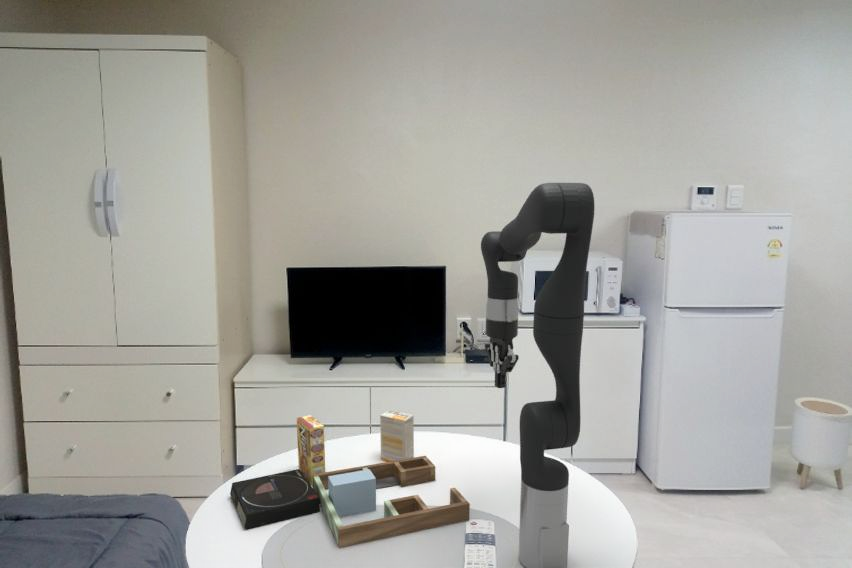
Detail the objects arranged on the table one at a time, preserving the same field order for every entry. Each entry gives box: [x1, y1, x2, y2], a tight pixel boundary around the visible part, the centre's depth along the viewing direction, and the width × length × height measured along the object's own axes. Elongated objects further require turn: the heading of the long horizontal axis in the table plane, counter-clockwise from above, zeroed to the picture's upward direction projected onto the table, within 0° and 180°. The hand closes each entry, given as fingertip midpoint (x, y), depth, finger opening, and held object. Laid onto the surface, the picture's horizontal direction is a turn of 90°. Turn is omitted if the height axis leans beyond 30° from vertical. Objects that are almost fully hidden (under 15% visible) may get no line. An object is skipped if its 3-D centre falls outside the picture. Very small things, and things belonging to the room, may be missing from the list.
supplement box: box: [379, 409, 415, 462], centre depth 170 cm, size 8×5×13 cm, turn 58°
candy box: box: [296, 414, 326, 487], centre depth 159 cm, size 9×4×15 cm, turn 34°
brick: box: [327, 469, 377, 518], centre depth 144 cm, size 5×10×8 cm, turn 112°
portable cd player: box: [229, 468, 321, 531], centre depth 147 cm, size 16×17×4 cm
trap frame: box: [312, 455, 471, 549], centre depth 147 cm, size 27×30×4 cm
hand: (500, 387), depth 149 cm, fingers closed
